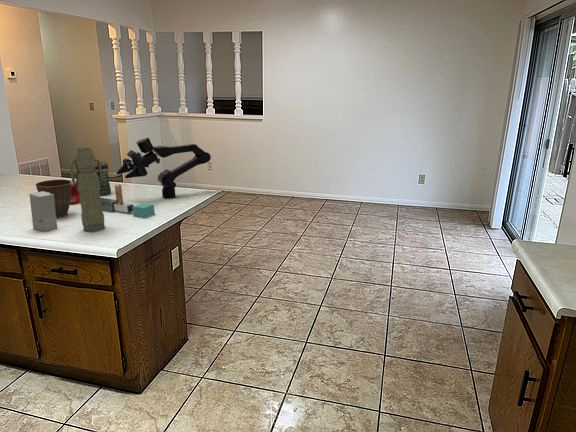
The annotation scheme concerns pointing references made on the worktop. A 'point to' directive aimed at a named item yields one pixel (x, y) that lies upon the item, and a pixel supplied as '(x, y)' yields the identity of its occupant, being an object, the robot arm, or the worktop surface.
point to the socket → (143, 210)
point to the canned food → (74, 195)
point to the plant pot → (58, 194)
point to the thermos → (88, 189)
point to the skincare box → (43, 211)
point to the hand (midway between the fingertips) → (121, 175)
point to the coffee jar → (104, 179)
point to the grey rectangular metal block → (107, 204)
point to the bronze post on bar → (121, 201)
